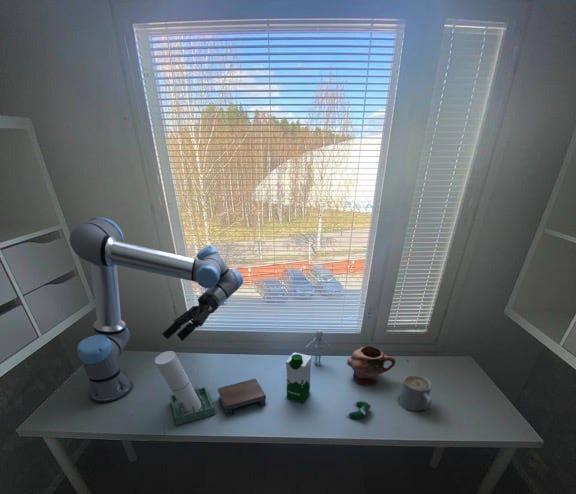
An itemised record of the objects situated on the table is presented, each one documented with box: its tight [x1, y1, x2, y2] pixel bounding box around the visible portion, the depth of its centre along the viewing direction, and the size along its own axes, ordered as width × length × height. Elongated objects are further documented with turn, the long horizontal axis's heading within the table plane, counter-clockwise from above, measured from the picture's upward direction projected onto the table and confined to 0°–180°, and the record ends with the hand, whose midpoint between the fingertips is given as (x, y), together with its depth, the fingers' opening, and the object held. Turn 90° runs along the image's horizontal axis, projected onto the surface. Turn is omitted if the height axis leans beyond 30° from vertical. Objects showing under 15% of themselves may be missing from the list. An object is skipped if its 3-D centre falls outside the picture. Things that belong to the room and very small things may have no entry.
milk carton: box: [285, 352, 313, 404], centre depth 126 cm, size 9×9×20 cm
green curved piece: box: [348, 400, 372, 419], centre depth 122 cm, size 9×4×6 cm
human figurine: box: [305, 329, 332, 366], centre depth 146 cm, size 12×4×18 cm, turn 90°
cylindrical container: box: [154, 350, 202, 414], centre depth 117 cm, size 7×7×25 cm
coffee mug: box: [398, 374, 433, 412], centre depth 124 cm, size 13×10×10 cm
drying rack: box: [169, 385, 215, 426], centre depth 124 cm, size 14×14×7 cm
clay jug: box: [346, 345, 396, 386], centre depth 138 cm, size 20×12×14 cm, turn 92°
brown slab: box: [217, 378, 267, 416], centre depth 128 cm, size 12×16×5 cm
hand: (171, 337), depth 115 cm, fingers open, 13 cm apart
